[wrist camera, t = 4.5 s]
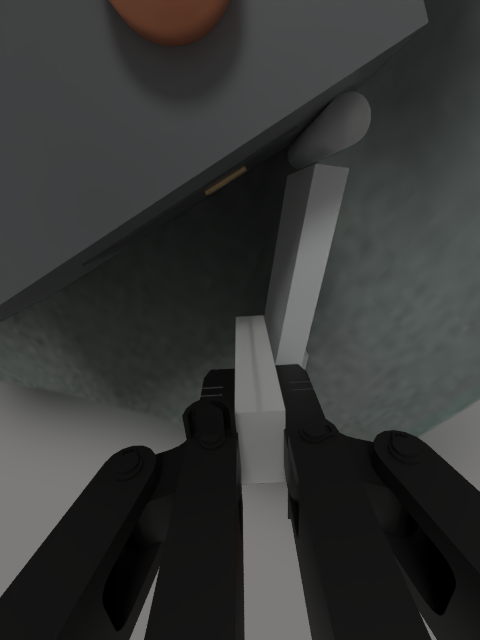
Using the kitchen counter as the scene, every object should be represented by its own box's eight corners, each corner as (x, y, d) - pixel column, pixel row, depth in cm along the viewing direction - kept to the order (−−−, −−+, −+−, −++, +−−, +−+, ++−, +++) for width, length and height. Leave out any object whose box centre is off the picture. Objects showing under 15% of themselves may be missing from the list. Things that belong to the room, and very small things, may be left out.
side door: (287, 175, 13) (315, 163, 8) (321, 180, 13) (370, 170, 8) (259, 344, 17) (266, 409, 12) (286, 347, 17) (304, 413, 12)
